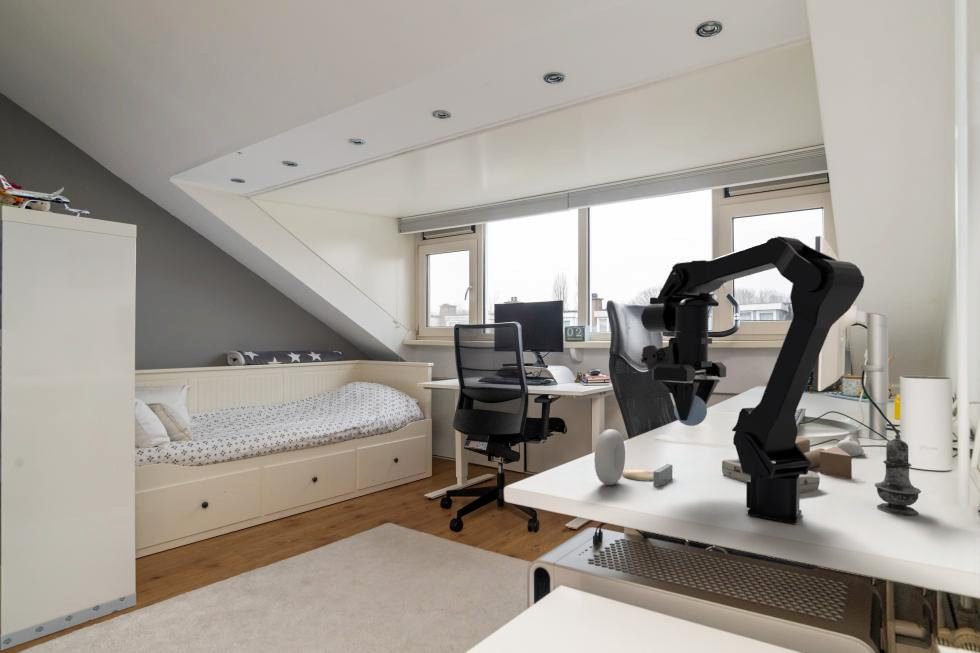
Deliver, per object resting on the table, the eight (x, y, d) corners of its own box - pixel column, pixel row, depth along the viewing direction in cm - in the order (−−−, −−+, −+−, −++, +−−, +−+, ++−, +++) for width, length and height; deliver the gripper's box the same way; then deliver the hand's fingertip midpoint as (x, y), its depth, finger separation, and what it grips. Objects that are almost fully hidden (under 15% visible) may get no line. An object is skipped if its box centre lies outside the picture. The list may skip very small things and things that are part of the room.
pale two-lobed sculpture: (856, 463, 124) (832, 453, 127) (865, 457, 129) (841, 447, 133) (863, 446, 123) (838, 436, 126) (871, 441, 128) (847, 431, 132)
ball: (711, 425, 98) (712, 394, 98) (699, 429, 94) (699, 397, 94) (681, 422, 102) (681, 392, 102) (668, 425, 98) (668, 394, 98)
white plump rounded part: (609, 477, 103) (610, 424, 103) (627, 480, 102) (628, 426, 102) (591, 489, 95) (591, 432, 95) (610, 492, 93) (610, 434, 93)
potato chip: (665, 475, 105) (665, 473, 105) (652, 483, 100) (652, 481, 100) (630, 469, 109) (630, 468, 109) (616, 476, 104) (616, 475, 104)
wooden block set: (759, 439, 117) (793, 430, 129) (759, 465, 117) (793, 454, 128) (849, 452, 104) (878, 441, 116) (849, 481, 104) (878, 468, 115)
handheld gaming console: (786, 476, 93) (720, 458, 107) (786, 497, 93) (720, 476, 107) (825, 472, 96) (756, 455, 110) (825, 492, 96) (755, 472, 110)
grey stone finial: (908, 506, 88) (908, 431, 88) (929, 518, 82) (929, 438, 82) (867, 503, 89) (867, 429, 89) (885, 514, 83) (885, 436, 83)
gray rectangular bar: (672, 477, 103) (672, 464, 103) (658, 486, 97) (659, 472, 97) (667, 477, 104) (667, 464, 104) (653, 485, 98) (653, 471, 98)
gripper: (671, 332, 110) (670, 409, 110) (625, 331, 97) (624, 418, 97) (727, 333, 103) (726, 415, 103) (686, 331, 89) (685, 426, 89)
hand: (690, 418), depth 98 cm, fingers closed on ball, 6 cm apart
